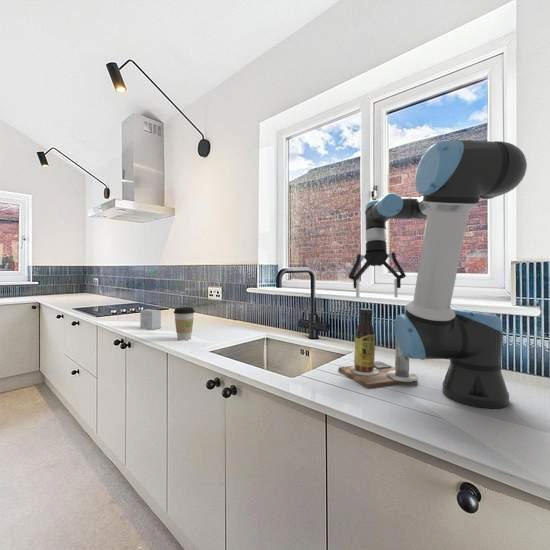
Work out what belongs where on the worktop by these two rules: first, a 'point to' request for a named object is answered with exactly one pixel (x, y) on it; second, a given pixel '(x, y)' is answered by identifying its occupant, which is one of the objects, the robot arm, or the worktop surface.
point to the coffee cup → (184, 322)
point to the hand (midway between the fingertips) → (376, 297)
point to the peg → (401, 363)
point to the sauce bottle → (364, 342)
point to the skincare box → (150, 319)
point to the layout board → (377, 375)
